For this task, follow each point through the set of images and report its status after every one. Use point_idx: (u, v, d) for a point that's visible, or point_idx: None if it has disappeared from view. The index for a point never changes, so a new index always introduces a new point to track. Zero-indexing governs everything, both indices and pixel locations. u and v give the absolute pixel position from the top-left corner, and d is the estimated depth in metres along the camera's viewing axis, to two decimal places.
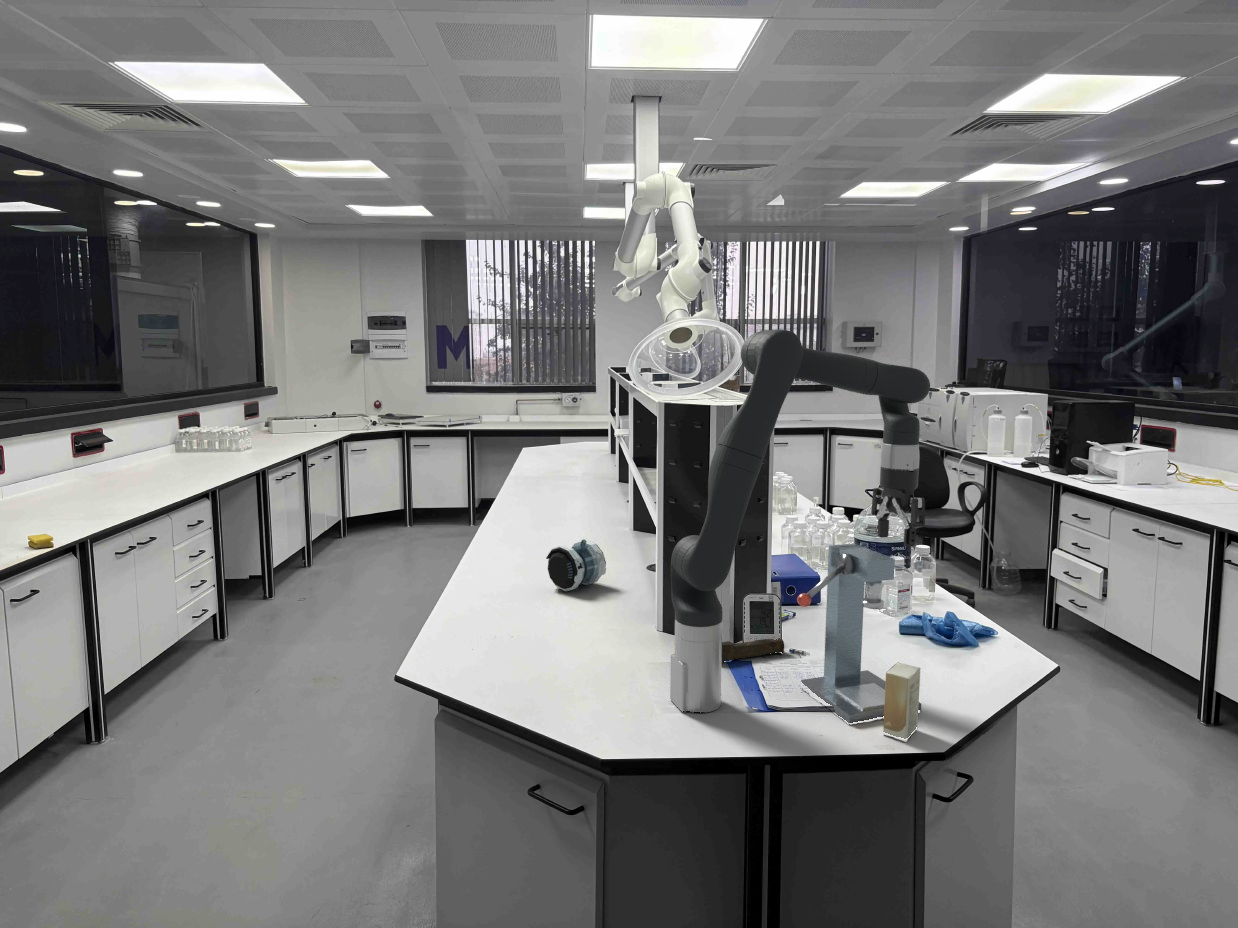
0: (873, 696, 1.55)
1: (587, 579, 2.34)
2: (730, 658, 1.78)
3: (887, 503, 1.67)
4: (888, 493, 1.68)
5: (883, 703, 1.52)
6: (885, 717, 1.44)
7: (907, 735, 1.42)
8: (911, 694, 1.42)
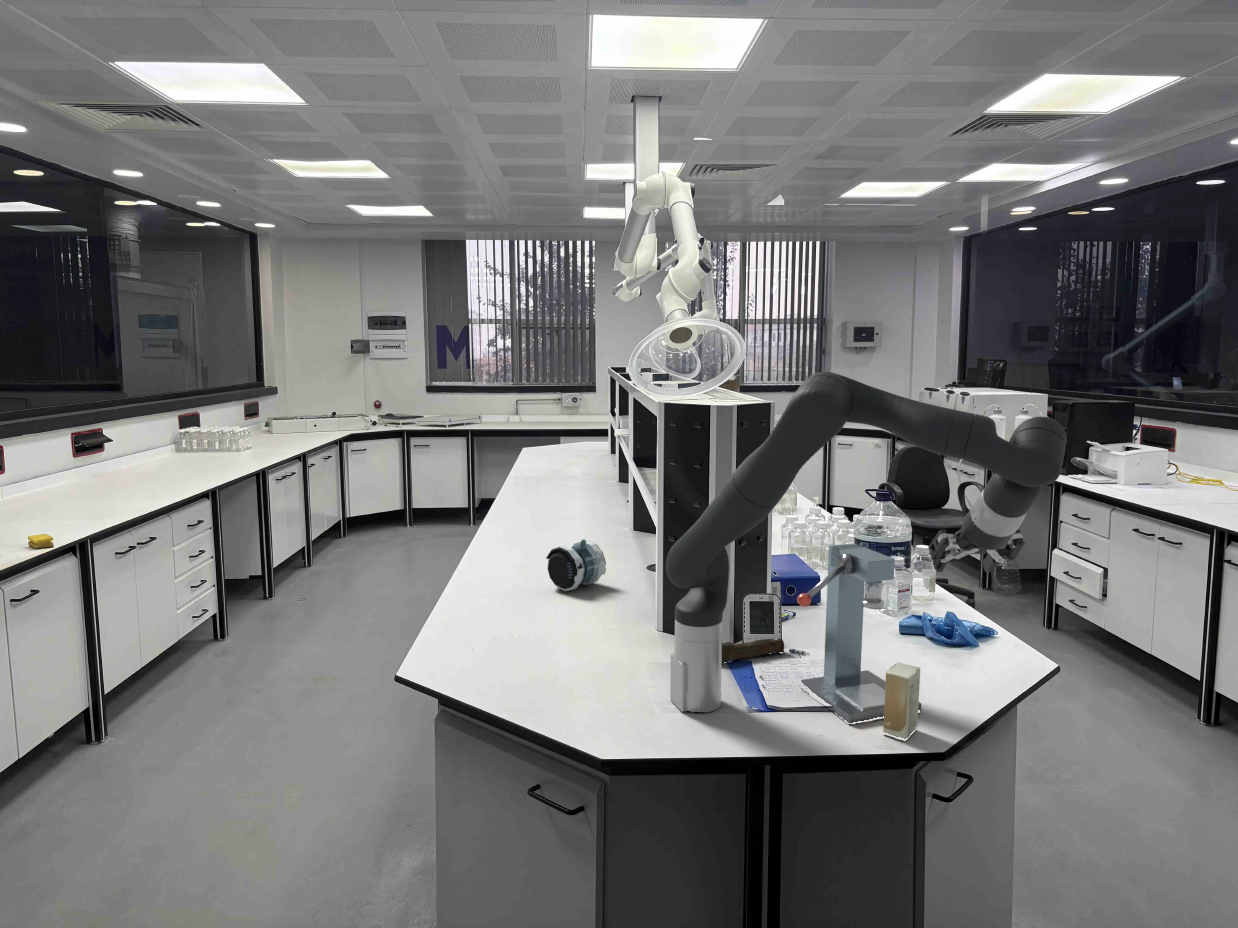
0: (873, 696, 1.55)
1: (587, 579, 2.34)
2: (731, 659, 1.78)
3: None
4: None
5: (883, 703, 1.52)
6: (885, 717, 1.44)
7: (907, 735, 1.42)
8: (911, 694, 1.42)
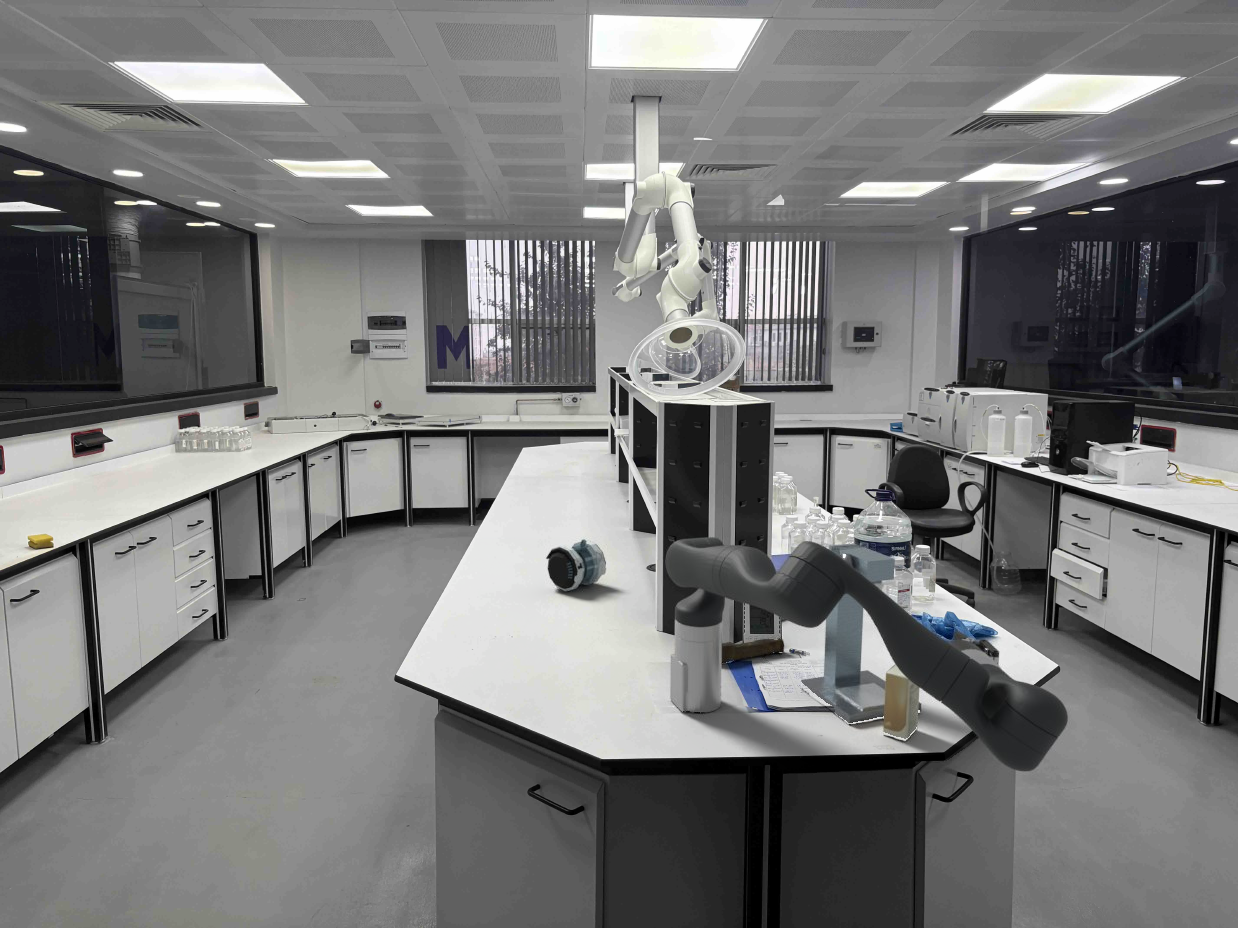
0: (873, 696, 1.55)
1: (587, 579, 2.34)
2: (732, 659, 1.78)
3: None
4: None
5: (883, 703, 1.52)
6: (885, 717, 1.44)
7: (907, 735, 1.42)
8: (911, 694, 1.42)
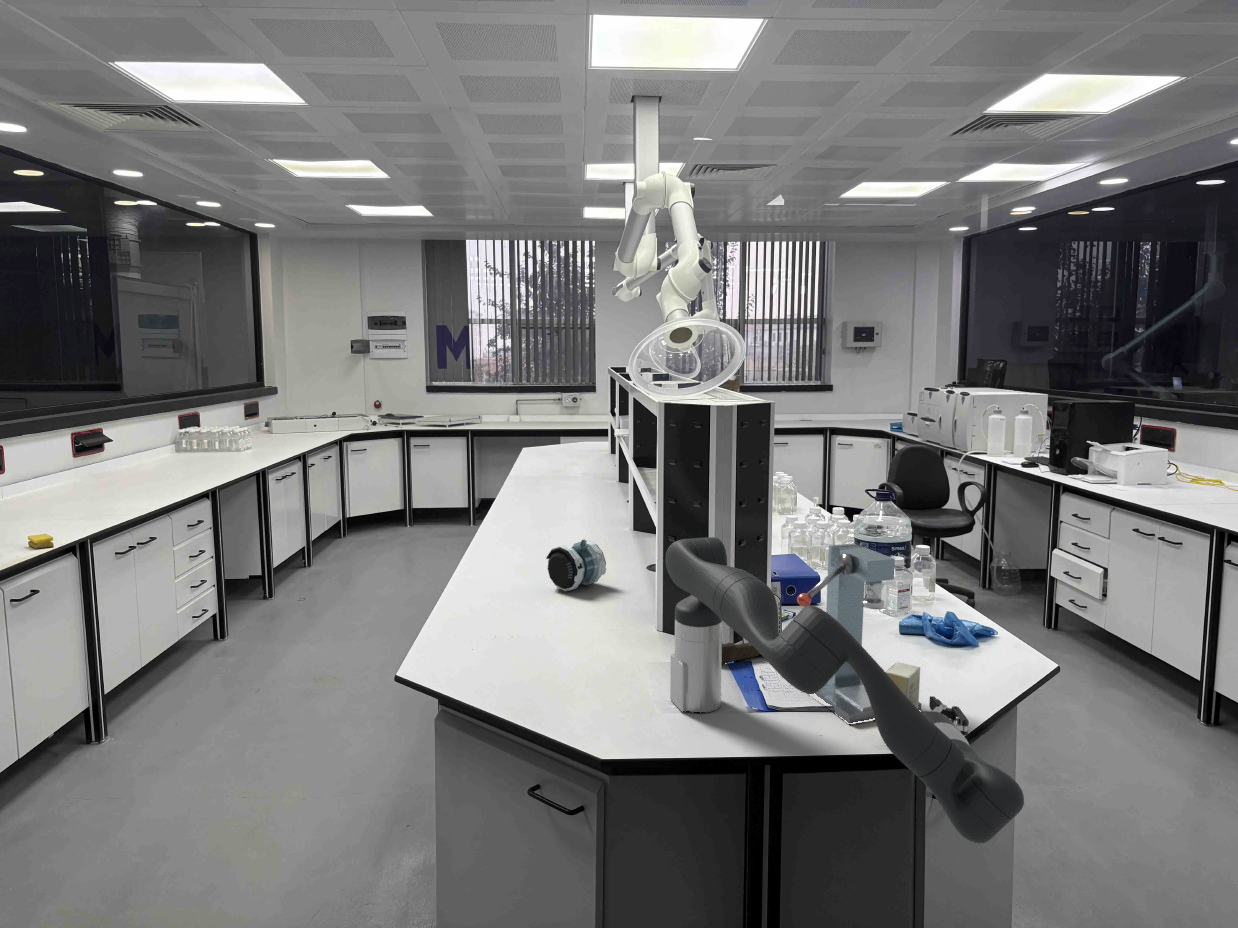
0: None
1: (587, 579, 2.34)
2: (733, 659, 1.78)
3: None
4: None
5: None
6: None
7: None
8: (910, 693, 1.42)
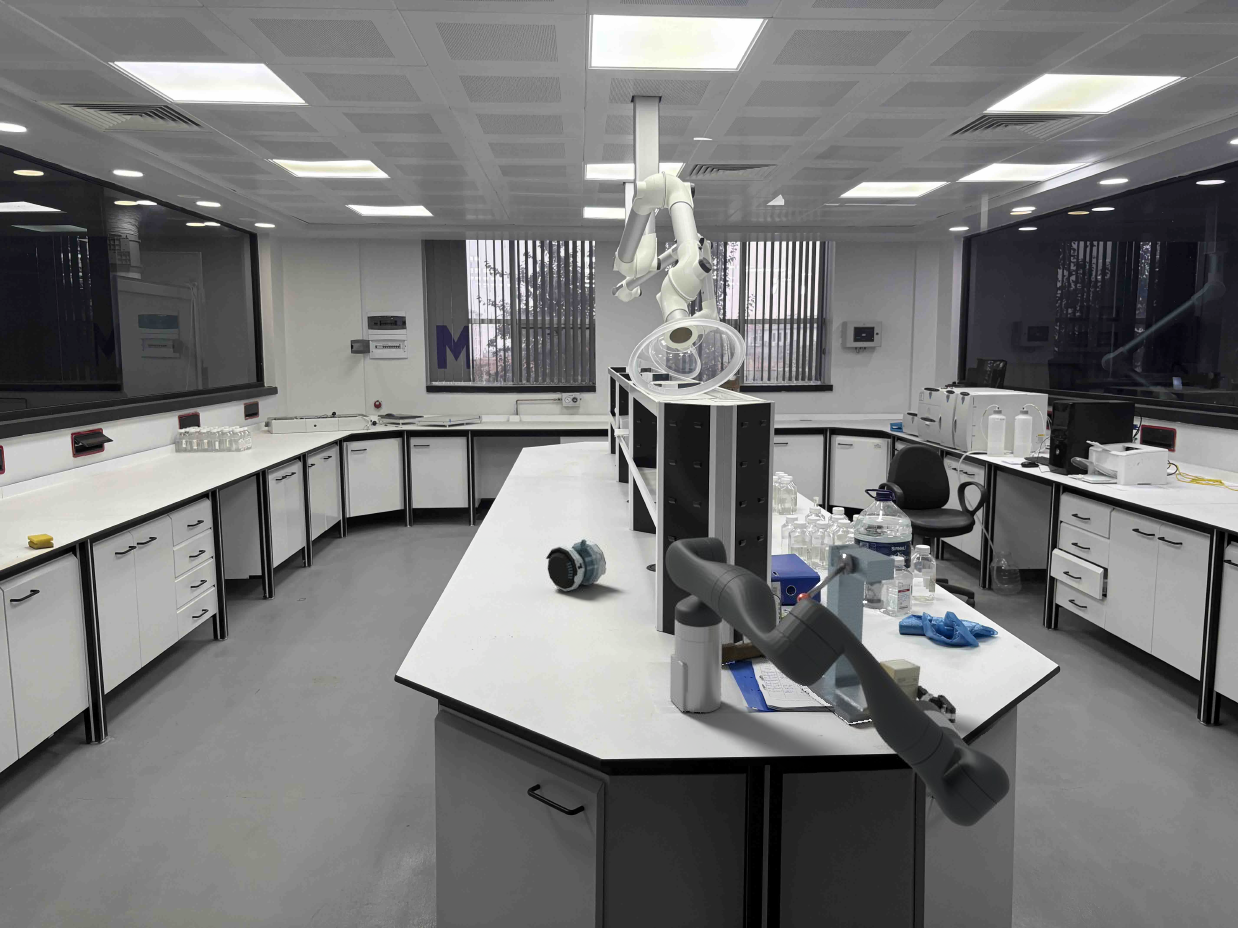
0: None
1: (587, 579, 2.34)
2: (734, 659, 1.78)
3: None
4: None
5: None
6: None
7: None
8: None
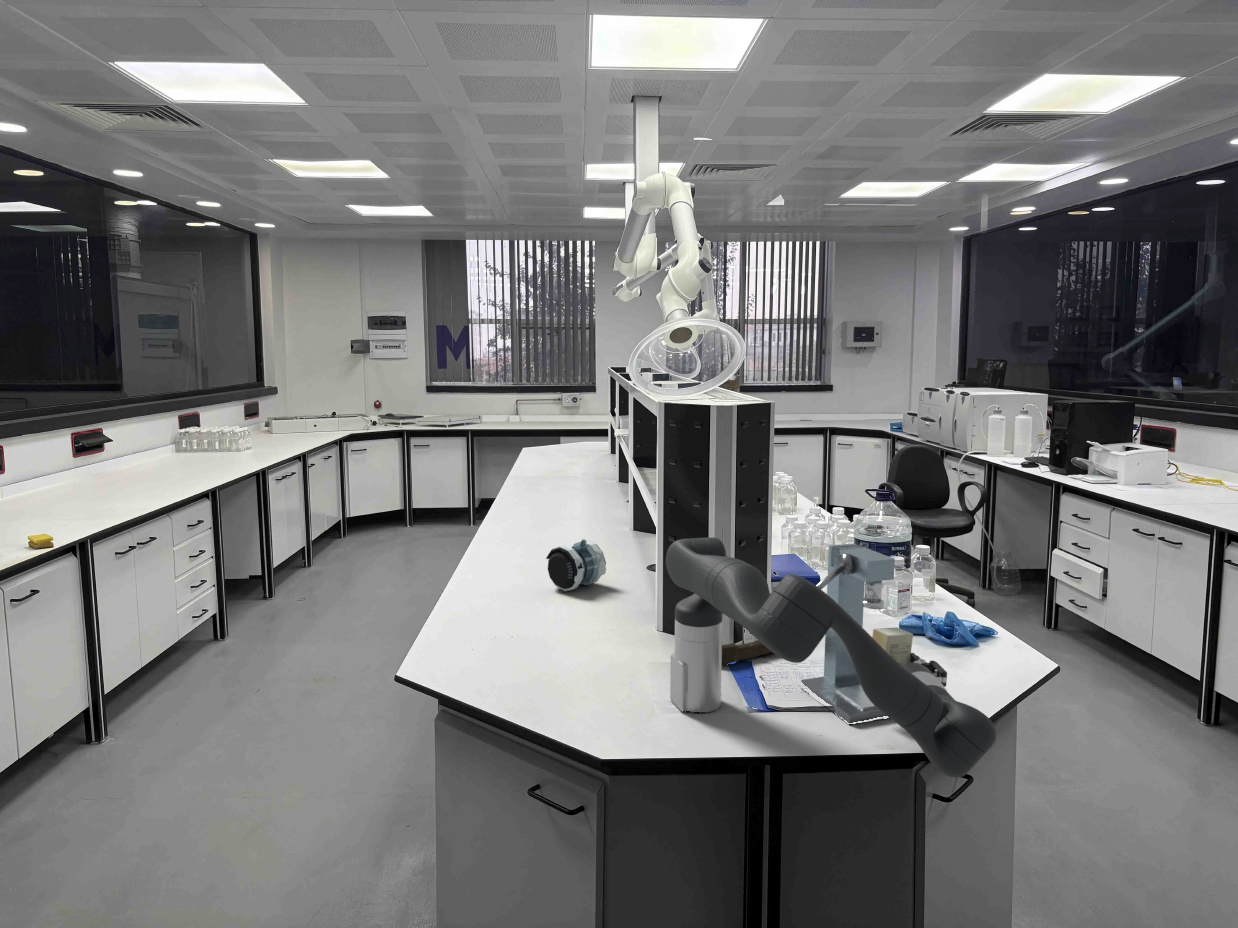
0: None
1: (587, 579, 2.34)
2: (735, 660, 1.77)
3: None
4: None
5: None
6: None
7: None
8: (892, 653, 1.46)
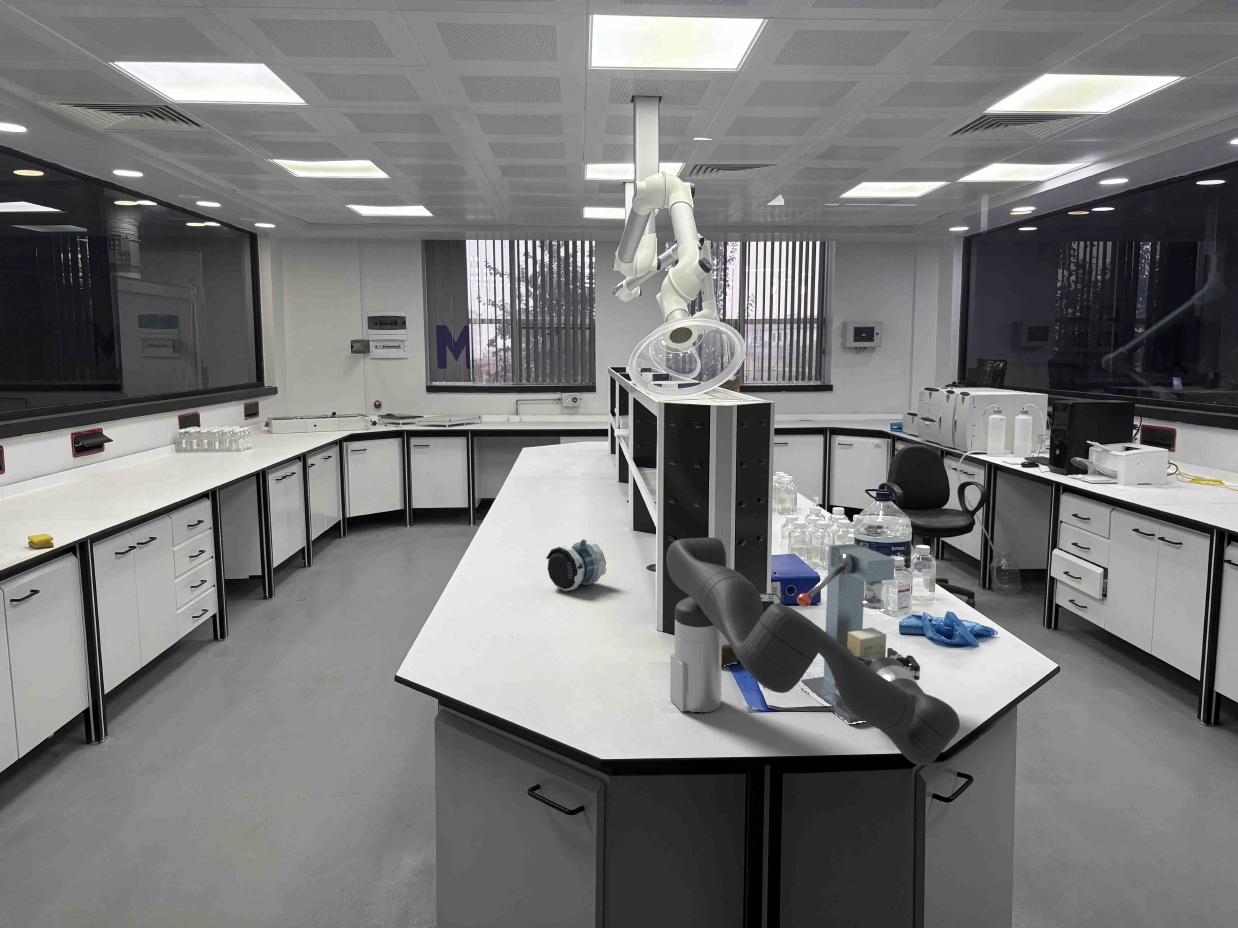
0: None
1: (587, 579, 2.34)
2: (736, 660, 1.77)
3: None
4: None
5: None
6: None
7: None
8: (866, 655, 1.53)
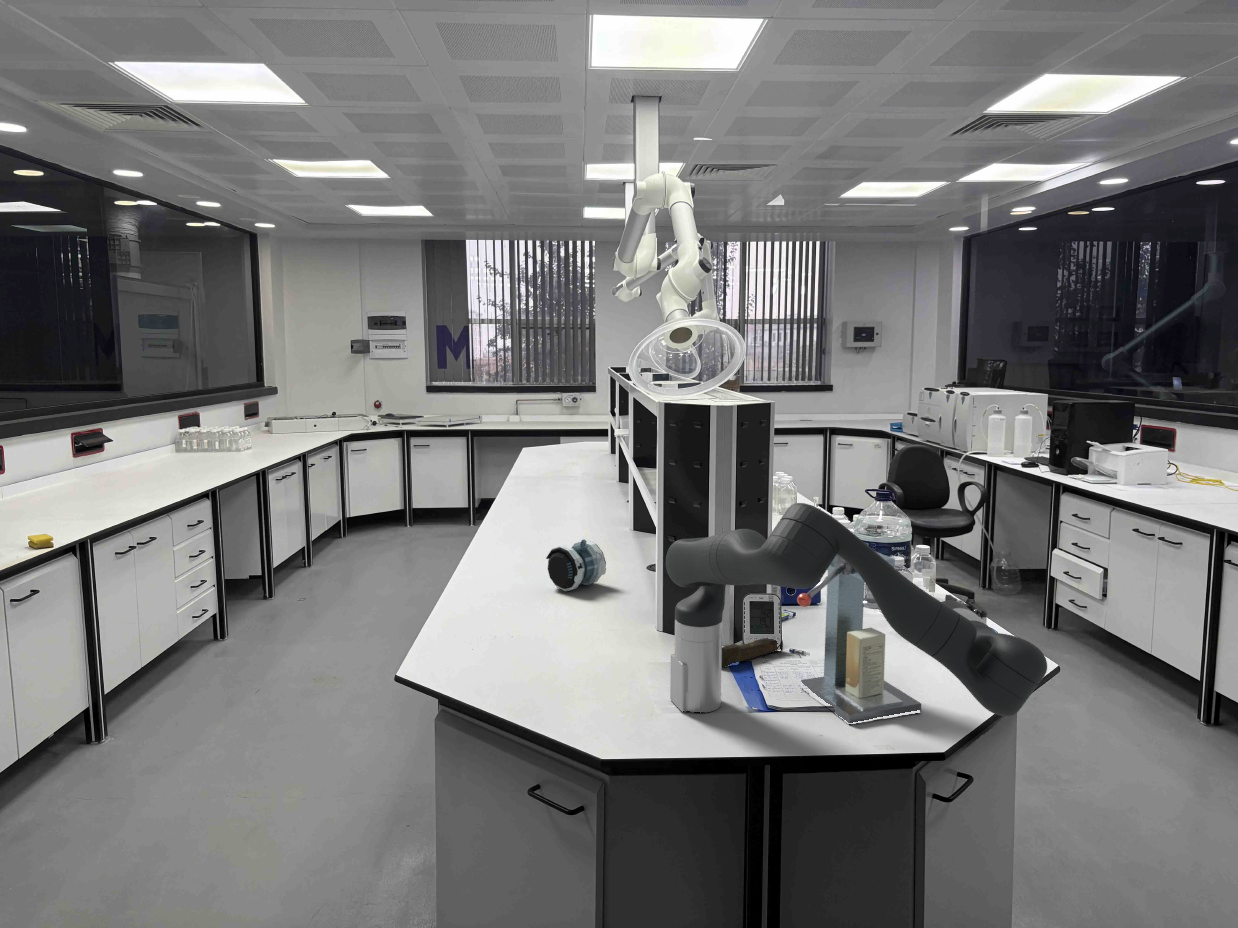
0: (873, 696, 1.55)
1: (587, 579, 2.34)
2: (738, 661, 1.77)
3: None
4: None
5: (883, 703, 1.52)
6: (846, 673, 1.57)
7: (861, 692, 1.54)
8: (866, 654, 1.53)
